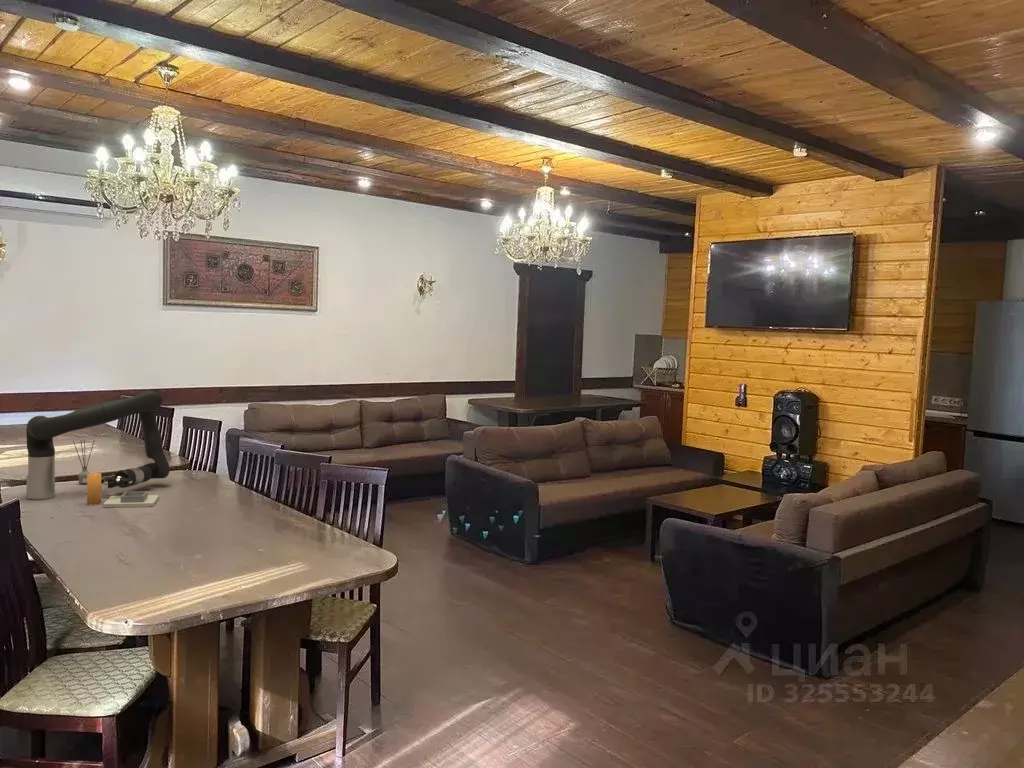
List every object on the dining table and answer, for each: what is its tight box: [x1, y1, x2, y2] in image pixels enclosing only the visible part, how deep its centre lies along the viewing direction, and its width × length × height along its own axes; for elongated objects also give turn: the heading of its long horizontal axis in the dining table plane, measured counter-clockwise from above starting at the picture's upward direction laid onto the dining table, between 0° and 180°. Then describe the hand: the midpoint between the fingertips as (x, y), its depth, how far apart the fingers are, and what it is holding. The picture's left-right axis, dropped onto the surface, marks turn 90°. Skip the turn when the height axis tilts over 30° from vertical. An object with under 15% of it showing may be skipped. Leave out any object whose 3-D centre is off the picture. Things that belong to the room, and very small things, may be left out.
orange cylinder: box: [86, 472, 102, 505], centre depth 301 cm, size 5×5×12 cm
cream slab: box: [102, 490, 160, 509], centre depth 304 cm, size 18×14×4 cm
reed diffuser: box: [72, 439, 95, 484], centre depth 334 cm, size 10×7×20 cm
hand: (99, 484), depth 303 cm, fingers open, 8 cm apart
